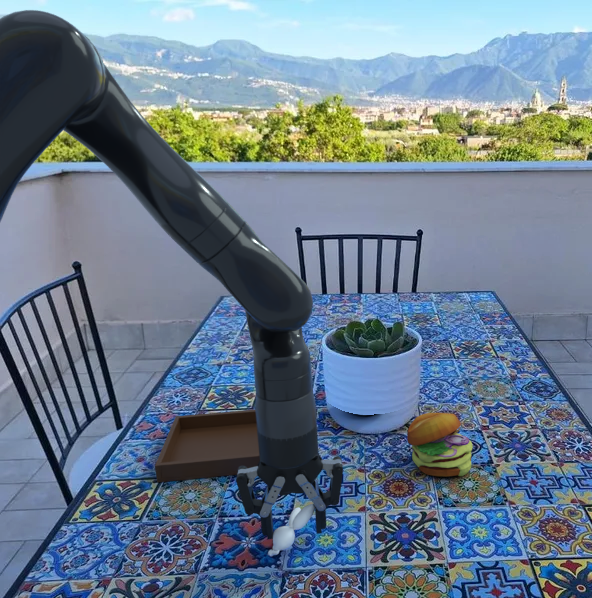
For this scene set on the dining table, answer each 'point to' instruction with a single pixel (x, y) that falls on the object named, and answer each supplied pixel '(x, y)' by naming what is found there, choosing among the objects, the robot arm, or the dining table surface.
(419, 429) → the cheeseburger
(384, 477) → the dining table surface
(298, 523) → the rabbit figurine
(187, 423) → the tray
